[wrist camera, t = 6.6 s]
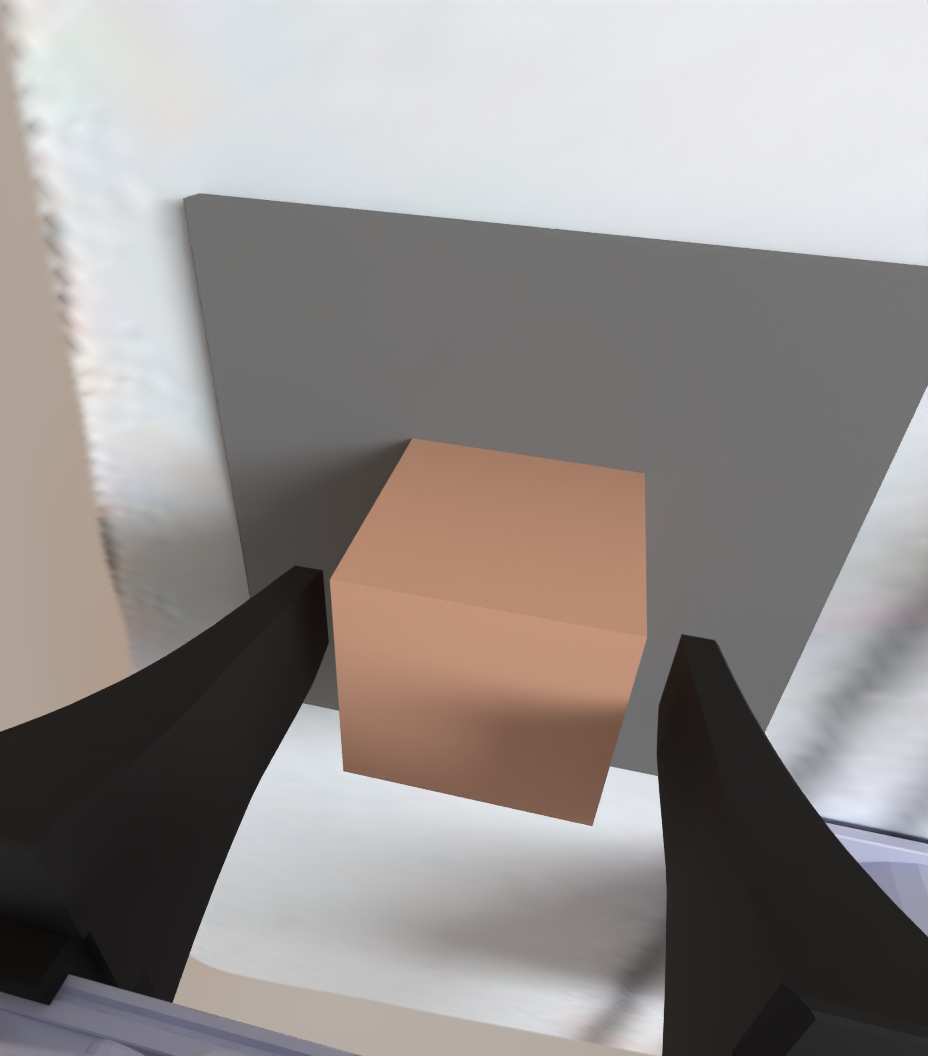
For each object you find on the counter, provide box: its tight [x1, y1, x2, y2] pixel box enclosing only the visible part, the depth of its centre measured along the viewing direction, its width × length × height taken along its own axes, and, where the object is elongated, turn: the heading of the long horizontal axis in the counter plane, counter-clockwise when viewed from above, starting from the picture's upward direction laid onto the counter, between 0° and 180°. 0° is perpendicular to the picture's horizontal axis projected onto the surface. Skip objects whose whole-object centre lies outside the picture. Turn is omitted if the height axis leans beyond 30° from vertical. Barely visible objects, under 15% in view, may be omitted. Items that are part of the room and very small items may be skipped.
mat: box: [183, 193, 928, 776], centre depth 16 cm, size 14×14×1 cm
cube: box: [330, 438, 647, 826], centre depth 14 cm, size 5×5×5 cm
